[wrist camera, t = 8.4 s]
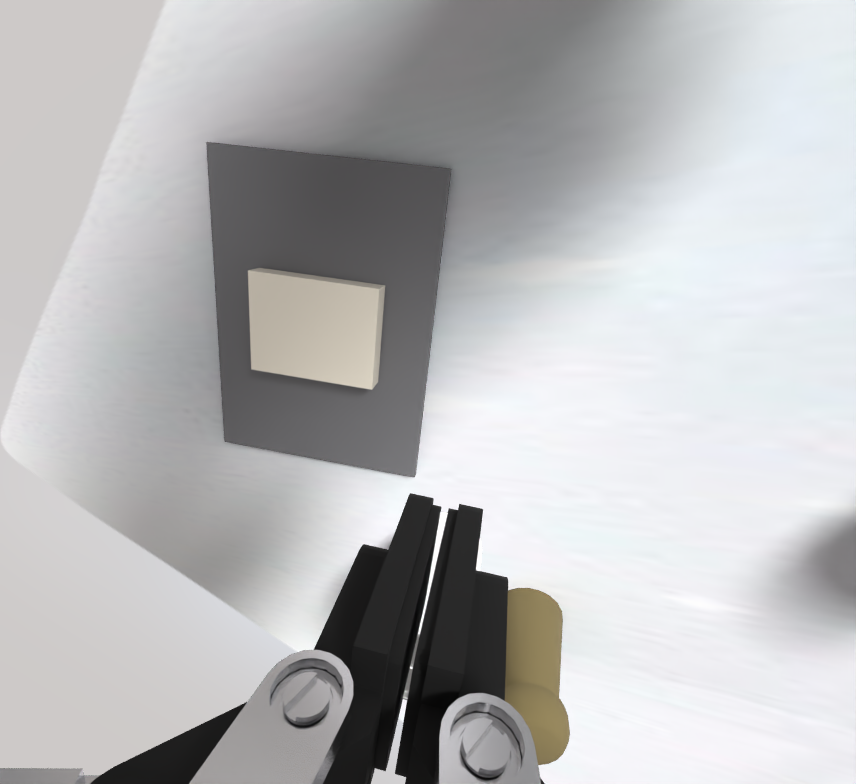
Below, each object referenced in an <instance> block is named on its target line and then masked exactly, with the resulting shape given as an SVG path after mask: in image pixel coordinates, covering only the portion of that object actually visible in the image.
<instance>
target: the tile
mask: <svg viewBox="0 0 856 784" xmlns="http://www.w3.org/2000/svg"><path fill="white" fill-rule="evenodd" d="M248 287H249V317H250V346H251V369H252V370H258V371H264V372H270V373H276V374H282V375H288V376H294V377H300V378H306V379H311V380H317V381H323V382H329V383H335V384H341V385H347V386H353V387H359V388H365V389H371V390H372V389H373V388H374V387H375V385H376V384H377V383H378V377H379V364H380V350H381V337H382V323H383V310H384V297H385V285H379V284H372V283H364V282H357V281H350V280H343V279H336V278H329V277H322V276H315V275H308V274H301V273H294V272H287V271H280V270H273V269H265V268H256V269H252V270H248Z"/></svg>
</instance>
